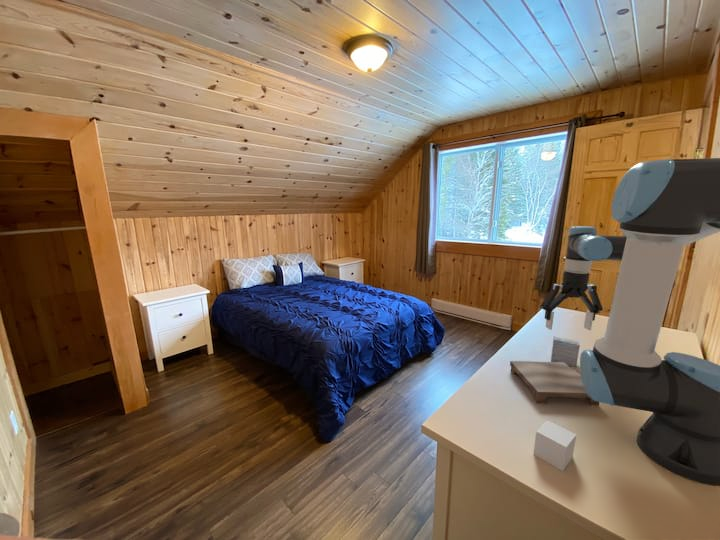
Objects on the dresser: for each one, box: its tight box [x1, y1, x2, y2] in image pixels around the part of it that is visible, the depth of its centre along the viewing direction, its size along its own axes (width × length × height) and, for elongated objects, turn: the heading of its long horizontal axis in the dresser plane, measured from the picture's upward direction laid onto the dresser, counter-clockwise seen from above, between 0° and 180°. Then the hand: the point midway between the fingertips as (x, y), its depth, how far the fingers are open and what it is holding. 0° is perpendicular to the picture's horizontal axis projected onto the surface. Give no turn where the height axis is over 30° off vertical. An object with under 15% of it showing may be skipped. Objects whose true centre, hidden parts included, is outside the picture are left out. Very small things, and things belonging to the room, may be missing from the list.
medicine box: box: [550, 335, 581, 368], centre depth 112 cm, size 8×4×9 cm, turn 58°
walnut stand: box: [509, 360, 600, 406], centre depth 96 cm, size 18×18×4 cm
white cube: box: [533, 420, 577, 472], centre depth 69 cm, size 6×6×6 cm
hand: (567, 328), depth 110 cm, fingers open, 13 cm apart
